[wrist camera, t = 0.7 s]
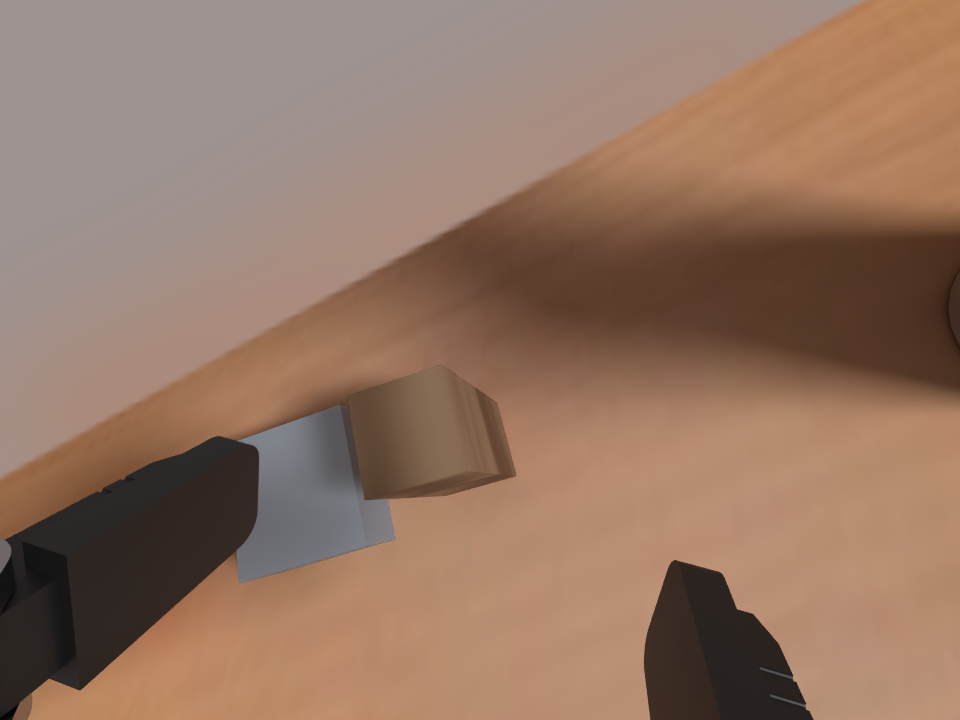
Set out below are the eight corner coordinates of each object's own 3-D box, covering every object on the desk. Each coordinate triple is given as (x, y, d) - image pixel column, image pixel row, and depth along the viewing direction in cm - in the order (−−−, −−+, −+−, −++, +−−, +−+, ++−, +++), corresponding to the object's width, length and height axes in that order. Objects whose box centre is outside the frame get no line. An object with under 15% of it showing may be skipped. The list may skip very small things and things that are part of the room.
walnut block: (497, 402, 30) (442, 364, 20) (516, 476, 28) (467, 470, 19) (429, 423, 30) (347, 396, 21) (445, 495, 29) (364, 500, 20)
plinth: (372, 414, 32) (340, 404, 28) (397, 538, 30) (366, 546, 26) (268, 449, 33) (225, 445, 30) (284, 571, 31) (239, 583, 27)
